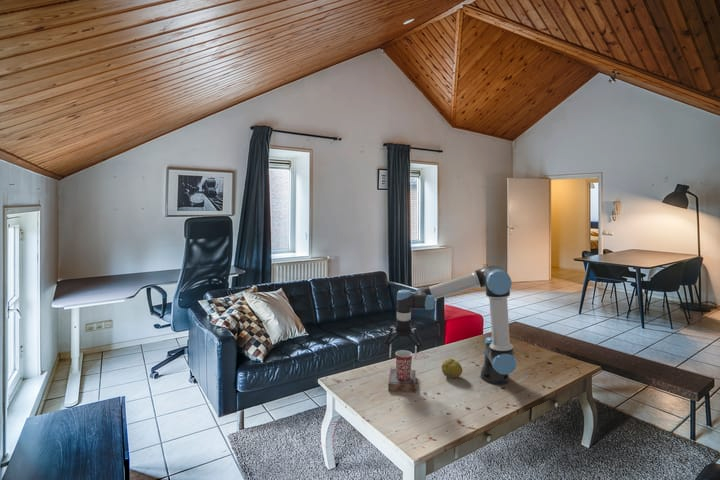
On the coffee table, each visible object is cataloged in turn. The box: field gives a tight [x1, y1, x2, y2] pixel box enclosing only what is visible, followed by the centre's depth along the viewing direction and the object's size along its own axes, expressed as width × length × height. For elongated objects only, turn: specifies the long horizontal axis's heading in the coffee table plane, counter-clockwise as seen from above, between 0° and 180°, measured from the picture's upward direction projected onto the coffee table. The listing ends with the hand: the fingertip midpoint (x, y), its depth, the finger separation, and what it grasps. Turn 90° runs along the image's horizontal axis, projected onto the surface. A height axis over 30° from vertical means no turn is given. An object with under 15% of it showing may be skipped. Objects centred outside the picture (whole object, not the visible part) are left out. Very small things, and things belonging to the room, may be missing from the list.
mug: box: [394, 349, 413, 381], centre depth 207 cm, size 13×9×14 cm
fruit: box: [441, 358, 463, 379], centre depth 216 cm, size 11×12×10 cm
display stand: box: [387, 368, 416, 394], centre depth 208 cm, size 14×18×4 cm
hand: (402, 357), depth 207 cm, fingers open, 13 cm apart
